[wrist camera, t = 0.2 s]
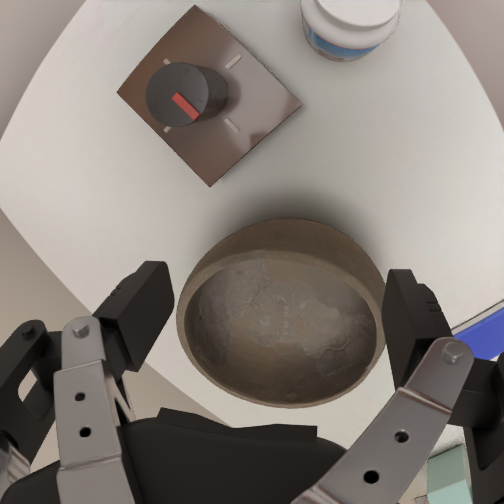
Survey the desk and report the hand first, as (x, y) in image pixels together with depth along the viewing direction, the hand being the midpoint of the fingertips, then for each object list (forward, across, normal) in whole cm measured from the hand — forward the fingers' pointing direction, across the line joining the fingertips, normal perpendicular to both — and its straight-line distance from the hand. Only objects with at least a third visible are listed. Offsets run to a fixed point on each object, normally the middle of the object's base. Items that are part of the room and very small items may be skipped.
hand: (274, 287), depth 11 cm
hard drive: (+18, -23, +20) cm, 36 cm away
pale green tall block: (+18, -35, +56) cm, 68 cm away
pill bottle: (+18, -4, -12) cm, 23 cm away
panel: (+18, +7, -7) cm, 21 cm away
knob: (+15, +7, -7) cm, 18 cm away
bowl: (+18, +1, +11) cm, 22 cm away
